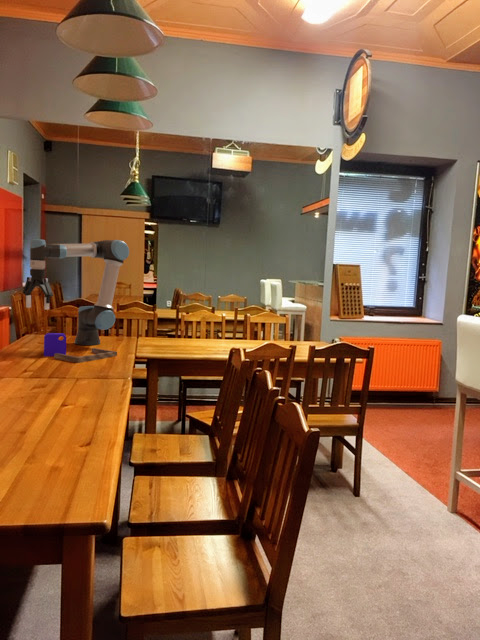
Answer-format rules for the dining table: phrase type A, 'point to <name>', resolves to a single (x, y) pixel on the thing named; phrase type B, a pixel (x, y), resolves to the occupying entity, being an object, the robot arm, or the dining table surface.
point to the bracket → (54, 344)
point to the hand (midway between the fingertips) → (37, 308)
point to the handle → (100, 355)
